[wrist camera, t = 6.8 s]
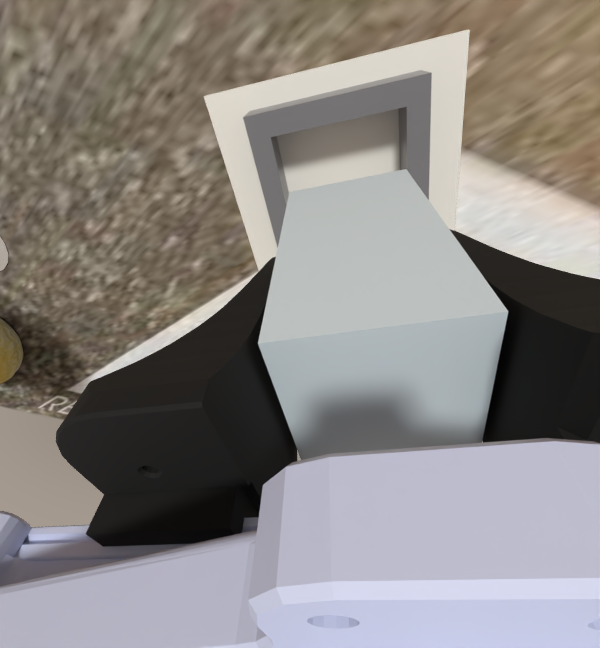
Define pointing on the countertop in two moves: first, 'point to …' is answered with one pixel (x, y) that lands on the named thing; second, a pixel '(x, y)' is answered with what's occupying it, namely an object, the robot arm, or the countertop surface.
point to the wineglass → (3, 255)
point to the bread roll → (9, 352)
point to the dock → (345, 130)
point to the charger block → (378, 322)
